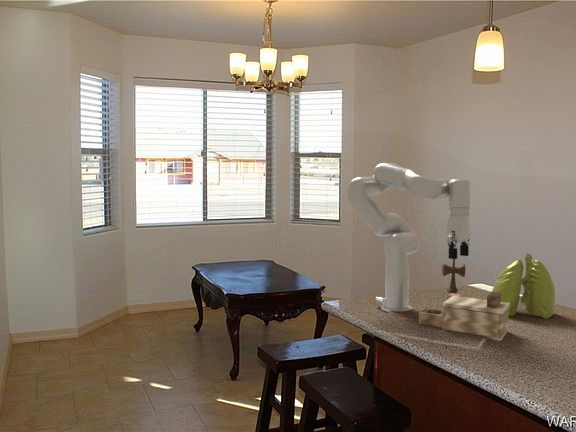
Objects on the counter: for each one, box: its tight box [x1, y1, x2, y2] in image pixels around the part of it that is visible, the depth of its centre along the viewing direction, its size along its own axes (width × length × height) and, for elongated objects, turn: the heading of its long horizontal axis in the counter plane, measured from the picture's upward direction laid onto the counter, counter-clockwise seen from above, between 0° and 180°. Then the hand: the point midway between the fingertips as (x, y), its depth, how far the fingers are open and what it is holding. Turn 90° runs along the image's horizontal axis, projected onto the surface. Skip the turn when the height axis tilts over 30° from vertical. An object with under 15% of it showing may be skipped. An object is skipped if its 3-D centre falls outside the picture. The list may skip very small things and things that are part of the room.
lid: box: [441, 290, 510, 314], centre depth 206 cm, size 20×13×5 cm, turn 59°
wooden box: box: [418, 306, 510, 342], centre depth 209 cm, size 30×13×9 cm, turn 59°
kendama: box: [441, 259, 466, 300], centre depth 253 cm, size 6×10×20 cm, turn 82°
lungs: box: [491, 253, 556, 319], centre depth 233 cm, size 25×16×24 cm, turn 79°
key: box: [447, 293, 462, 299], centre depth 221 cm, size 4×4×10 cm
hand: (458, 257), depth 217 cm, fingers open, 9 cm apart
